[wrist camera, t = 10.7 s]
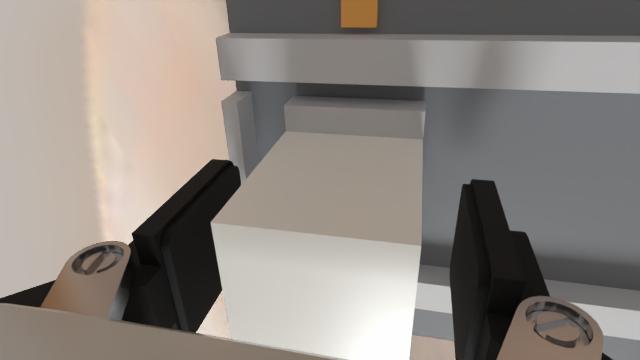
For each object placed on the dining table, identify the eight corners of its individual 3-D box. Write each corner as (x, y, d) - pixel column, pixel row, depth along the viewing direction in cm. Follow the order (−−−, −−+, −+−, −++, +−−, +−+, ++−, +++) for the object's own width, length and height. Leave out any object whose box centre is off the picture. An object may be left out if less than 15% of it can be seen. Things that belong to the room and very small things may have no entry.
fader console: (1093, -89, 9) (1382, -111, 6) (780, 350, 16) (856, 433, 13) (246, -55, 13) (198, -59, 10) (277, 280, 20) (253, 332, 17)
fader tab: (425, 100, 12) (425, 206, 7) (410, 255, 15) (402, 416, 9) (293, 95, 13) (204, 186, 8) (301, 242, 15) (239, 384, 10)
